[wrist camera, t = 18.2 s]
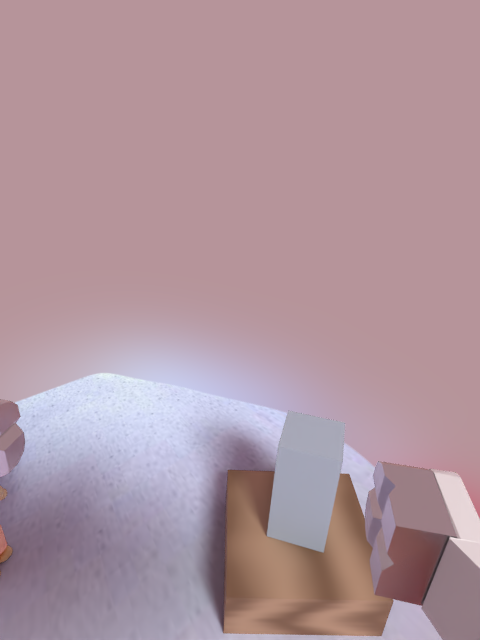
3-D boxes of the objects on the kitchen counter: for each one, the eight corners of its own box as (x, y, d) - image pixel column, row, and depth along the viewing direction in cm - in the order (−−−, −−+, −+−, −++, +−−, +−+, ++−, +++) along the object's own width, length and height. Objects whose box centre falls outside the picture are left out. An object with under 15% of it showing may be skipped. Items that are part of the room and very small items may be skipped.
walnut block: (223, 636, 33) (226, 597, 31) (225, 504, 45) (227, 469, 42) (380, 638, 33) (393, 601, 31) (341, 507, 45) (349, 473, 43)
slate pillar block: (266, 536, 35) (278, 446, 32) (277, 493, 40) (288, 410, 36) (323, 552, 34) (342, 461, 30) (328, 507, 39) (345, 422, 35)
